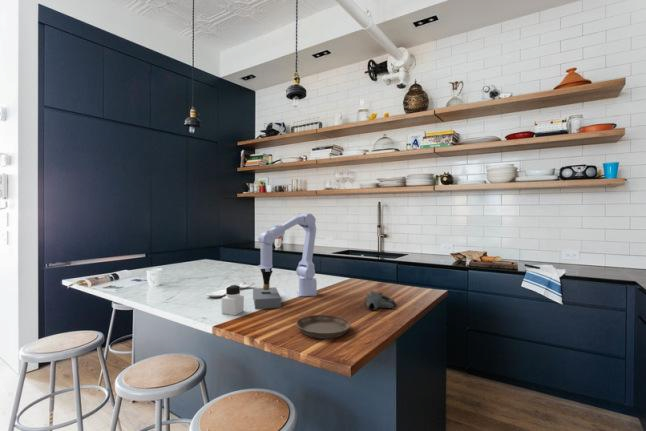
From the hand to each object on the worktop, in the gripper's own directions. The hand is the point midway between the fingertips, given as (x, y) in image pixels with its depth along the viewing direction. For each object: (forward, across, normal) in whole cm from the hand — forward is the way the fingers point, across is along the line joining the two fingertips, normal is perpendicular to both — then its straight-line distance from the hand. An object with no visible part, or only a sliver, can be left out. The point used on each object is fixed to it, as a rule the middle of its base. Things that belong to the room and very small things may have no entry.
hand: (266, 283), depth 170 cm
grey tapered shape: (+10, +16, +54) cm, 57 cm away
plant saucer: (+10, +45, +18) cm, 49 cm away
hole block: (+9, 0, 0) cm, 9 cm away
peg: (+3, 0, 0) cm, 3 cm away
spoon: (+10, -24, -18) cm, 32 cm away
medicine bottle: (+10, +14, -16) cm, 23 cm away
